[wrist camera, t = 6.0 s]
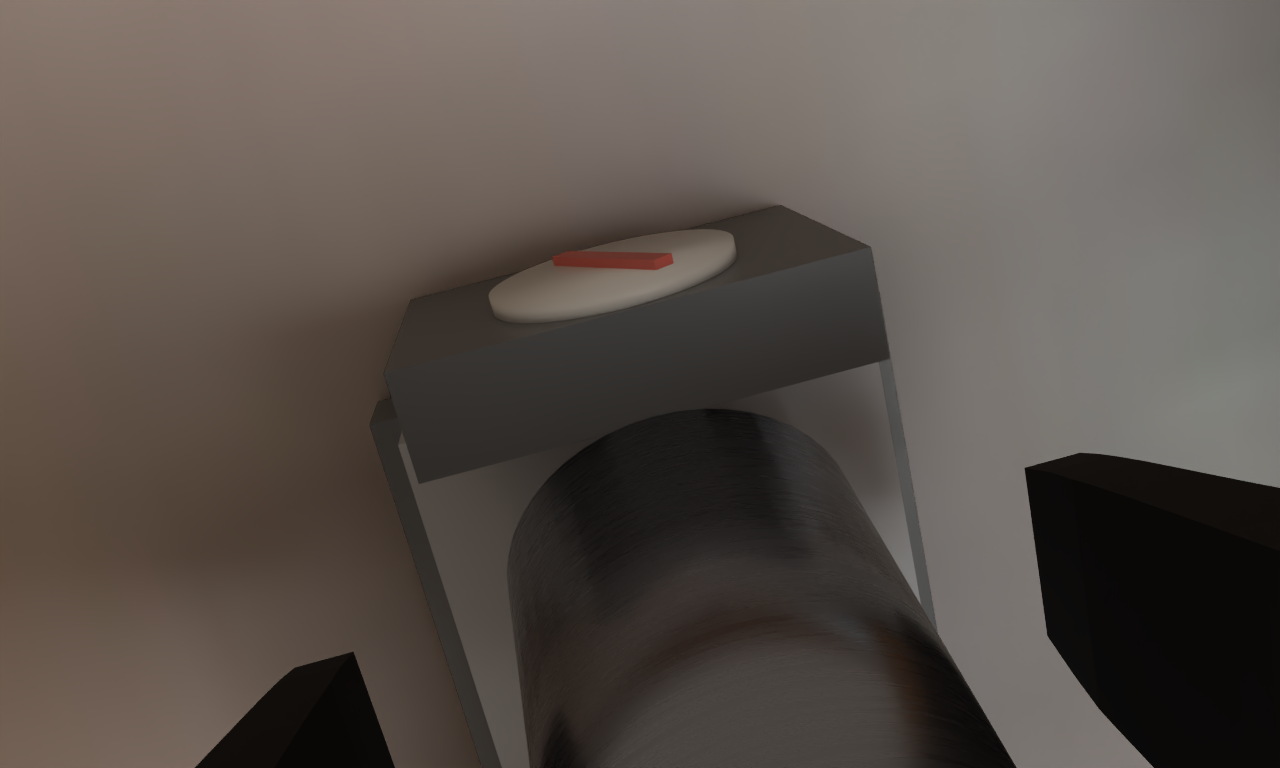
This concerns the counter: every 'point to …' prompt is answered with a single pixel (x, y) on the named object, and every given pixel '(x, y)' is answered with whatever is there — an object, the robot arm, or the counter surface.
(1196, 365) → the counter surface
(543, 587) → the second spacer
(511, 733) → the dial scale
